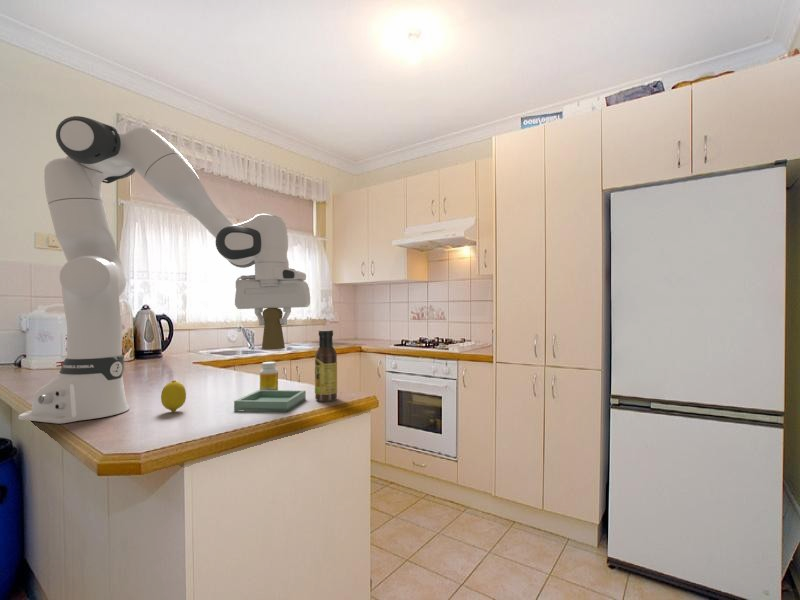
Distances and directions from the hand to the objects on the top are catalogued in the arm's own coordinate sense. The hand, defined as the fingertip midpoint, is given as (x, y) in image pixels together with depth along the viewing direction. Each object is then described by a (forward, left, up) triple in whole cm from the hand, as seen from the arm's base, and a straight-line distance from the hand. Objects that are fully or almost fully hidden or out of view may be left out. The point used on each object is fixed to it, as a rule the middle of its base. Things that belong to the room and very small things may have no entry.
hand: (273, 325), depth 109 cm
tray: (0, 0, -22) cm, 22 cm away
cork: (0, 0, -7) cm, 7 cm away
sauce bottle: (+13, +7, -22) cm, 26 cm away
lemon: (-22, -9, -22) cm, 33 cm away
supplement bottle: (-7, +14, -22) cm, 27 cm away
